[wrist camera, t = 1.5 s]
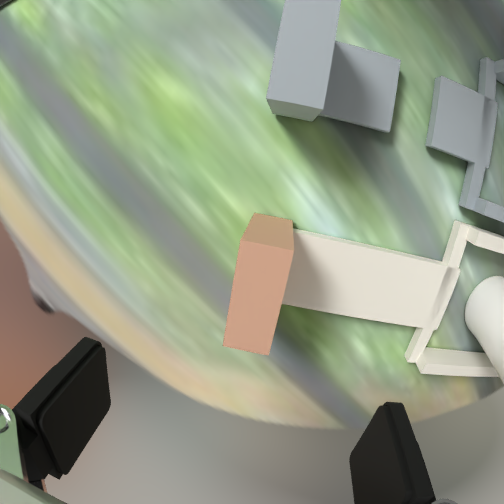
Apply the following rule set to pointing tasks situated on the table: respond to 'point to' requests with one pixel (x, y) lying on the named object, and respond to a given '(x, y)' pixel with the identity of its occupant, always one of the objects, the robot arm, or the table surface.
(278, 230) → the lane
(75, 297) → the table surface
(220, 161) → the table surface
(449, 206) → the table surface
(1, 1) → the smartphone
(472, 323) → the drinking glass
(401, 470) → the robot arm
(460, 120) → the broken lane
